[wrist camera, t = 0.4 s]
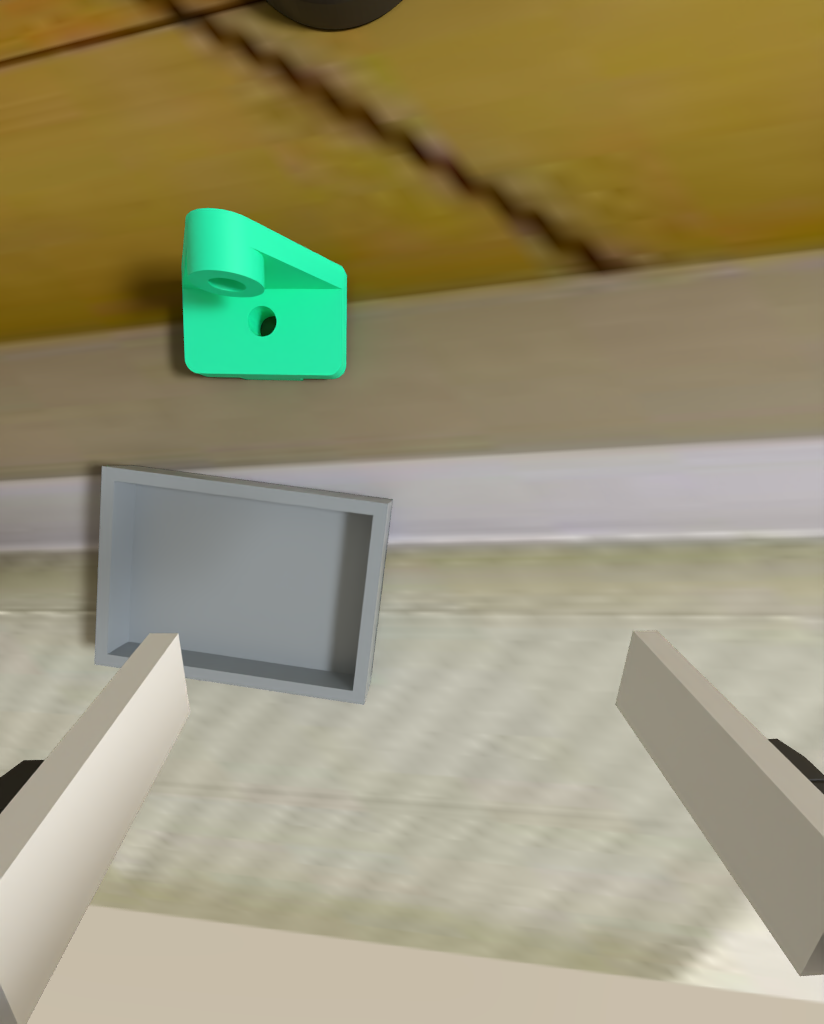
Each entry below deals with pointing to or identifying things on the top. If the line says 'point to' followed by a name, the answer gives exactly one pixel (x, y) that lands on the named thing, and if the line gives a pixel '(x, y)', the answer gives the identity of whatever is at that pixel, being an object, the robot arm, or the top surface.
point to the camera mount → (259, 302)
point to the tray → (242, 579)
